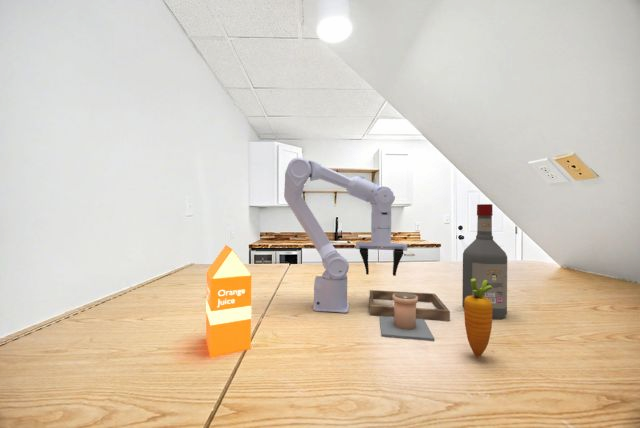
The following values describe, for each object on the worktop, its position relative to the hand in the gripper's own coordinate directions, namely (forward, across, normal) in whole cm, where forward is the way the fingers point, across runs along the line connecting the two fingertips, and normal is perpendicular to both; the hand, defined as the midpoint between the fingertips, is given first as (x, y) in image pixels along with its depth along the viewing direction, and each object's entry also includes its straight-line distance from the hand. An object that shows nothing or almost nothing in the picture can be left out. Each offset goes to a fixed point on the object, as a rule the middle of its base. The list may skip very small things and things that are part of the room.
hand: (380, 274), depth 80 cm
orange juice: (+10, +32, +30) cm, 45 cm away
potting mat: (+9, -5, +15) cm, 18 cm away
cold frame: (+9, -7, 0) cm, 12 cm away
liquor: (+10, -28, 0) cm, 30 cm away
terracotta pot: (+9, -5, +14) cm, 17 cm away
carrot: (+10, -17, +26) cm, 32 cm away
